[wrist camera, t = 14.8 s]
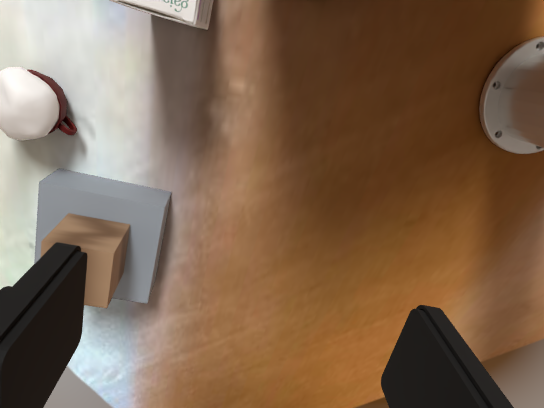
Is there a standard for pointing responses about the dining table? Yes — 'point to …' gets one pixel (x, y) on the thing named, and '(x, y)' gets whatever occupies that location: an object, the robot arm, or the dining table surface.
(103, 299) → the walnut cube
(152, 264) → the grey block
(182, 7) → the syrup box
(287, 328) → the dining table surface
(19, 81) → the cocoa
